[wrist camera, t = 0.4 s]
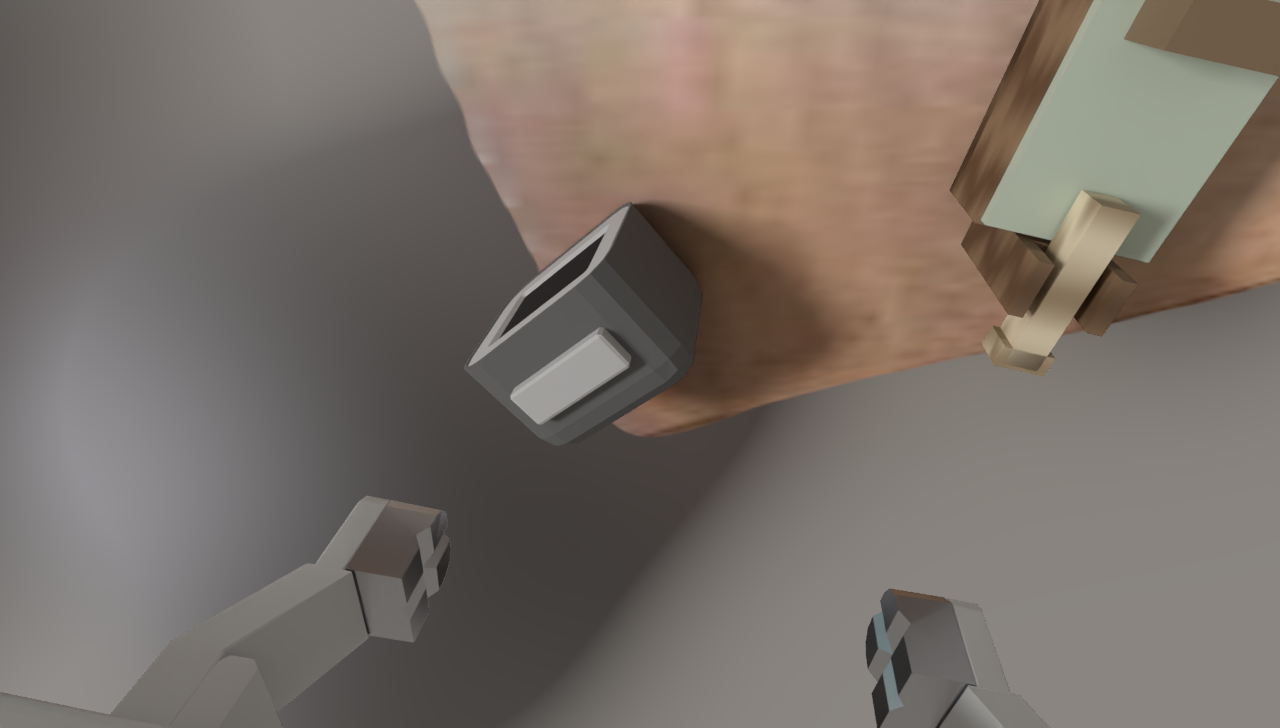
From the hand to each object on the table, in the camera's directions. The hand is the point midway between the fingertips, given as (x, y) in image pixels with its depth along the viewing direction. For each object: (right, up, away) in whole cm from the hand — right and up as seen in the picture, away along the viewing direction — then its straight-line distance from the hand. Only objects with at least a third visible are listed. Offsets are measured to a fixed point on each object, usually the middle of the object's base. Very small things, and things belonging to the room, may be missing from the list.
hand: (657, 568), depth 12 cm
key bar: (+28, +10, +34) cm, 45 cm away
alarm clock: (-3, +11, +49) cm, 50 cm away
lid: (+31, +20, +28) cm, 46 cm away
